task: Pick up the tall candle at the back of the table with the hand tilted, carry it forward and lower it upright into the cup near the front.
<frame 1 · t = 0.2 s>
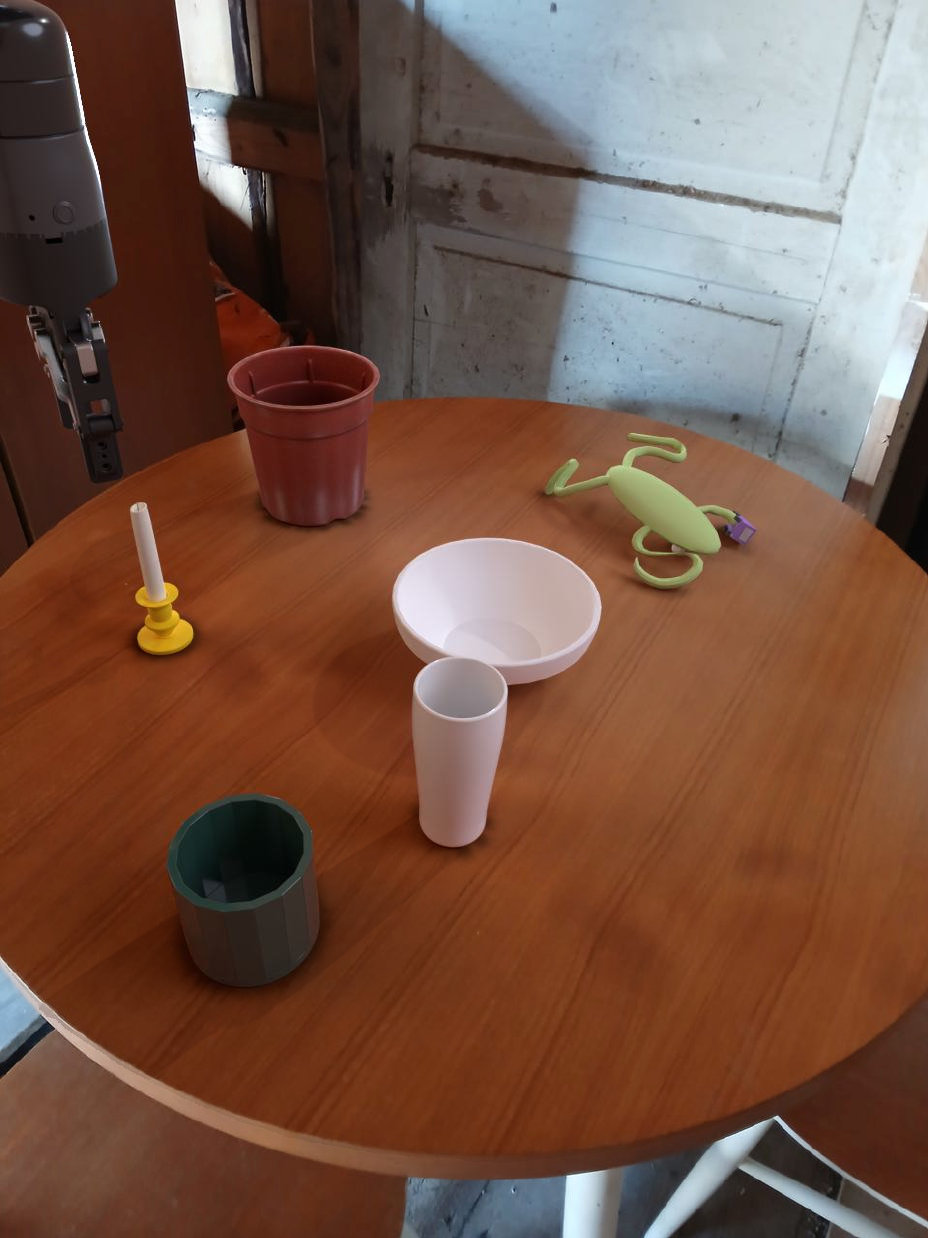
hand: (92, 451, 64), 26 cm above the table, tool pointing down, fingers open, 8 cm apart
flower pot: (313, 501, 109), on the table
candle: (166, 639, 88), on the table
drinking glass: (452, 825, 72), on the table
bowl: (491, 654, 89), on the table
figurine: (646, 520, 109), on the table
cup: (254, 926, 64), on the table
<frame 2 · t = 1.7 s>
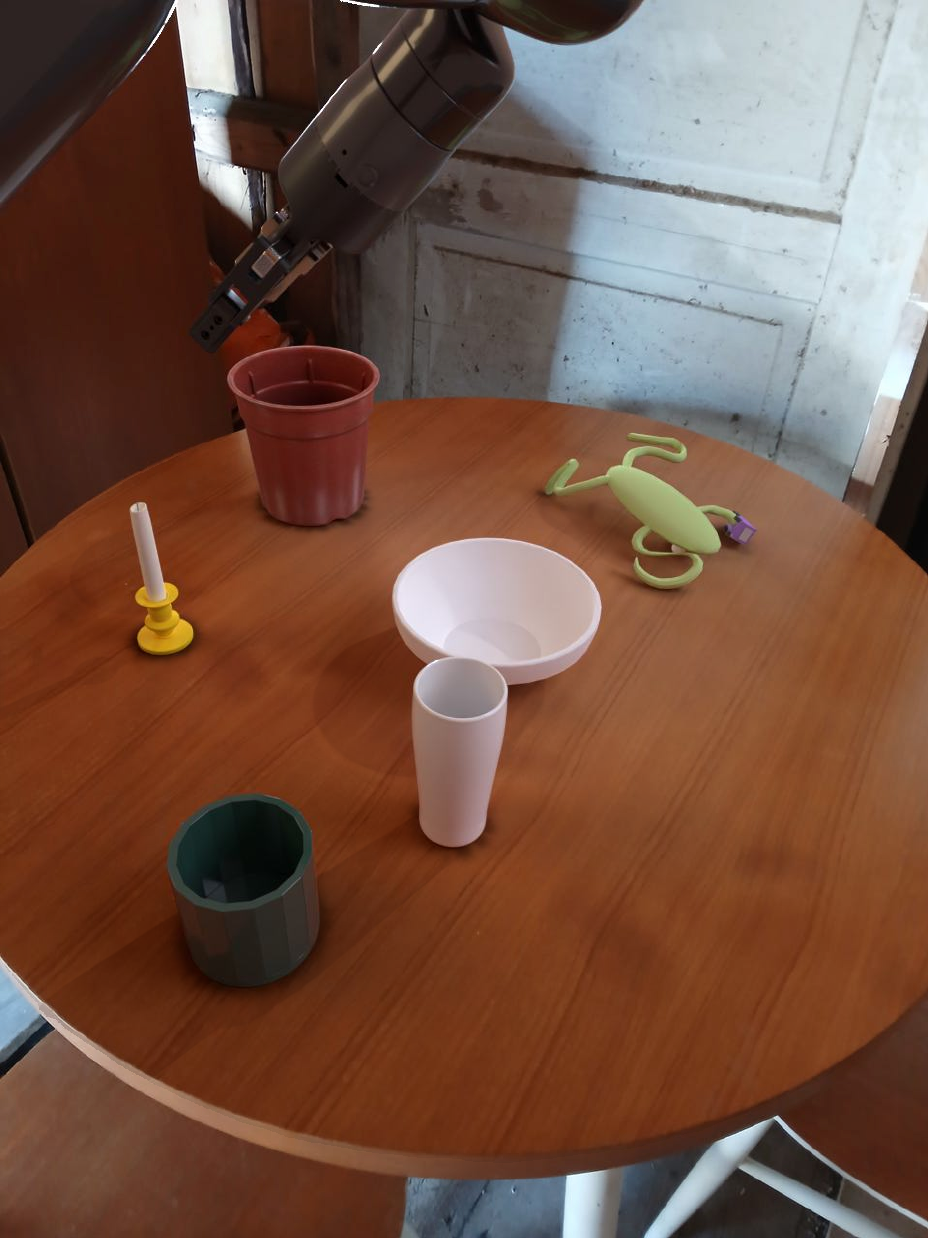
hand: (226, 320, 66), 33 cm above the table, tool tilted 45°, fingers open, 8 cm apart
nothing on the table moved.
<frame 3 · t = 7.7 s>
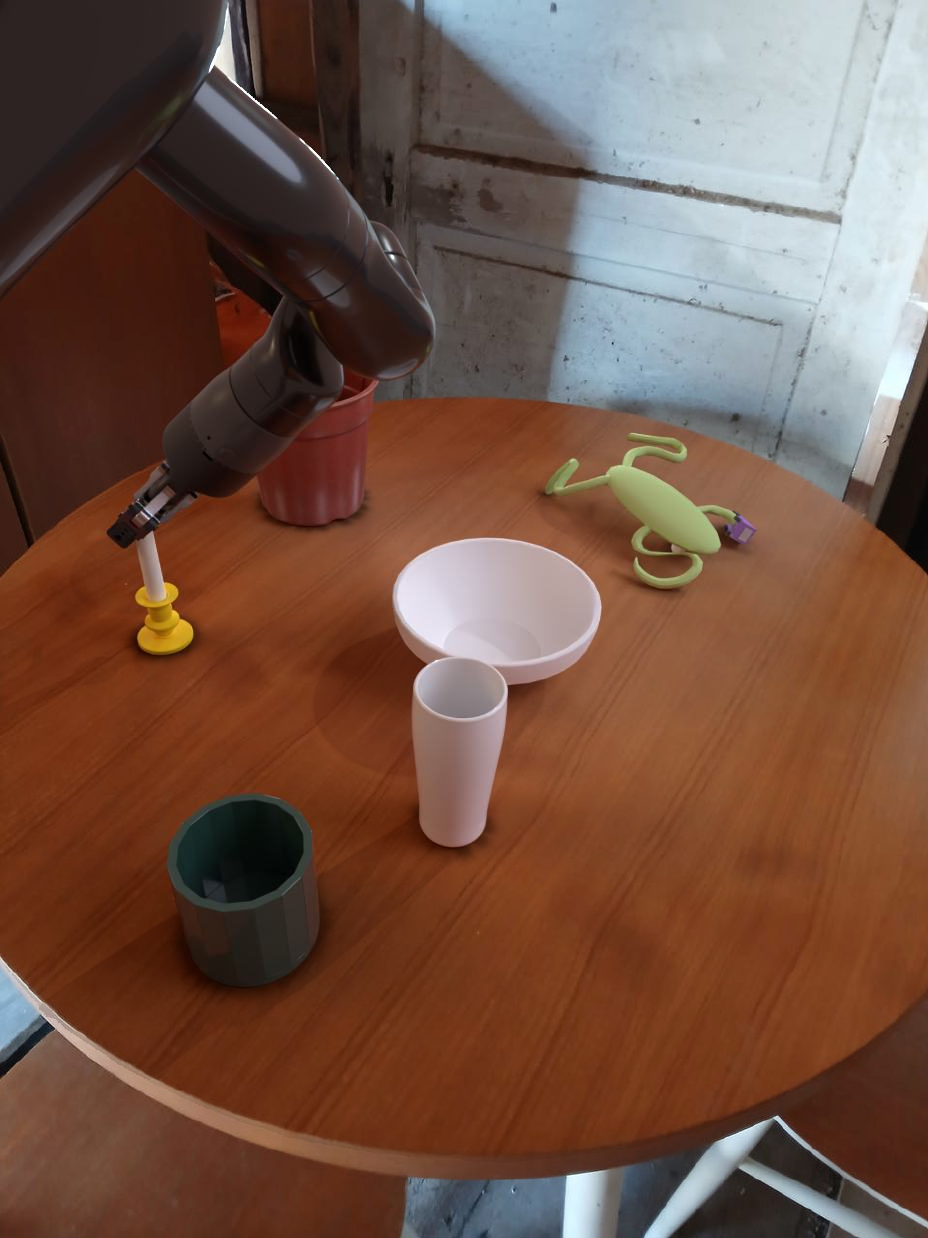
hand: (123, 532, 81), 12 cm above the table, tool tilted 45°, fingers closed on candle
candle: (166, 639, 88), on the table, touching gripper
everything else where it was.
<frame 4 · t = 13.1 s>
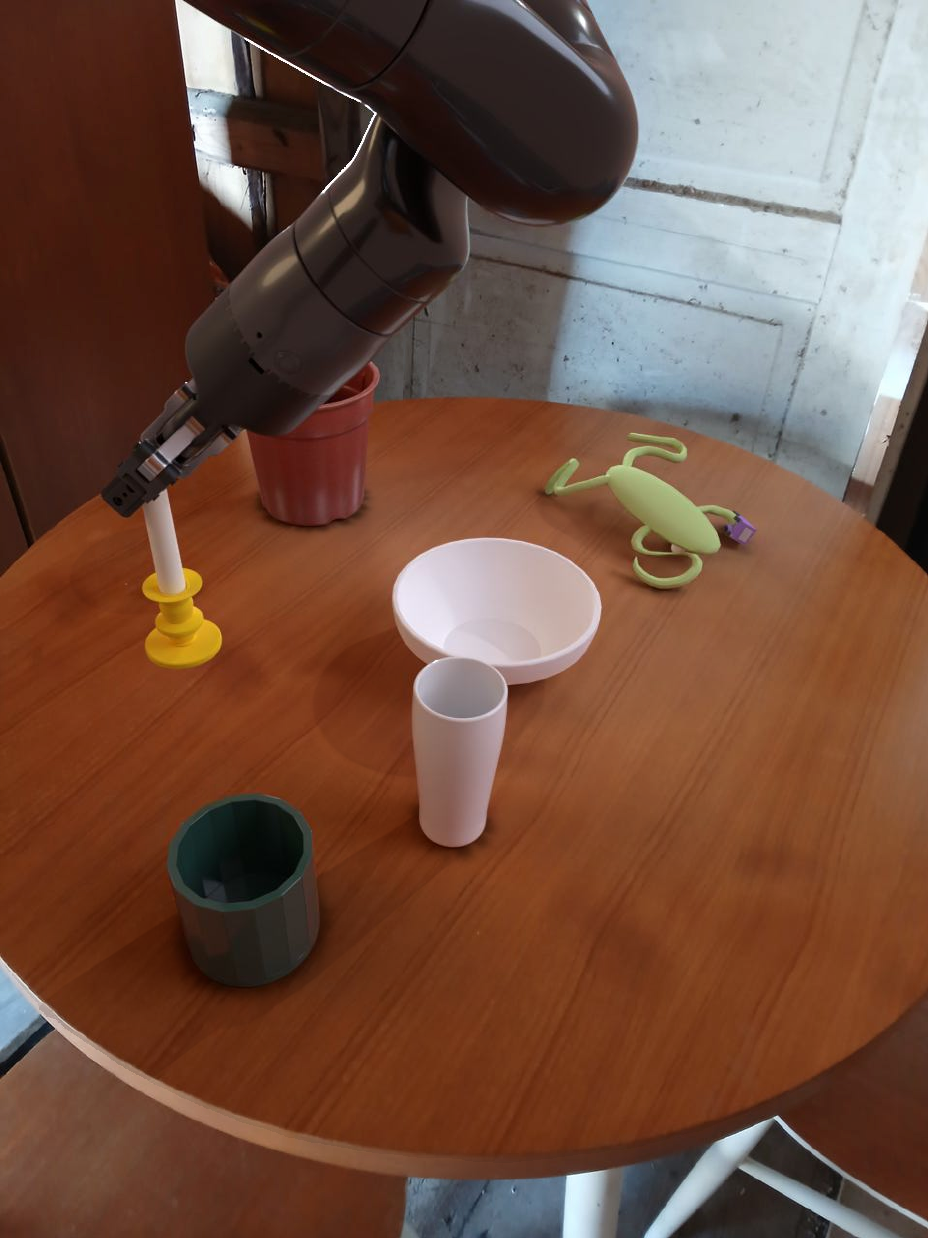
hand: (124, 495, 57), 28 cm above the table, tool tilted 45°, fingers closed on candle
candle: (184, 647, 64), point 16 cm above the table, touching gripper
everything else where it was.
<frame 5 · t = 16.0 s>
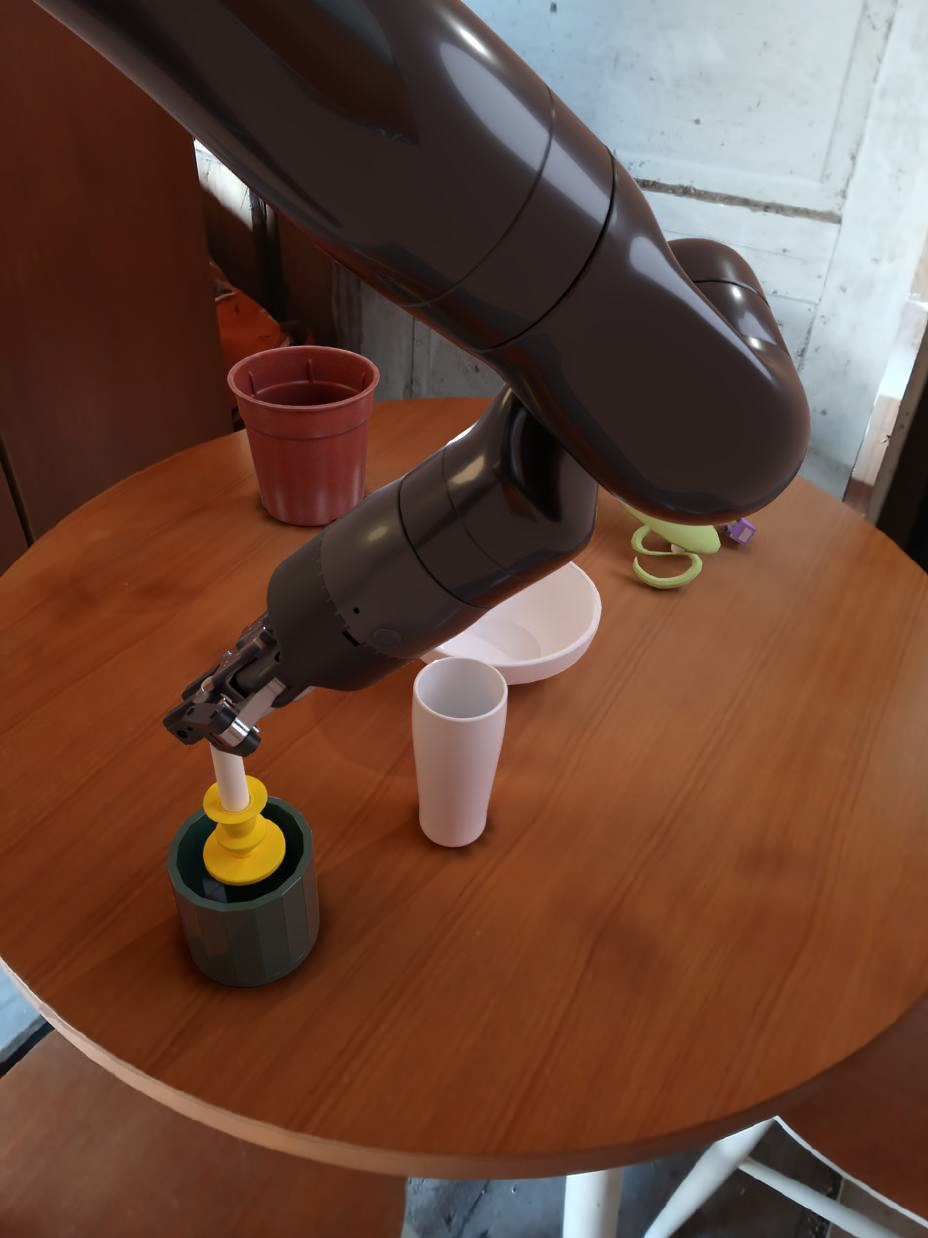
hand: (187, 717, 52), 21 cm above the table, tool tilted 45°, fingers closed on candle
candle: (245, 854, 59), point 8 cm above the table, touching gripper
everything else where it was.
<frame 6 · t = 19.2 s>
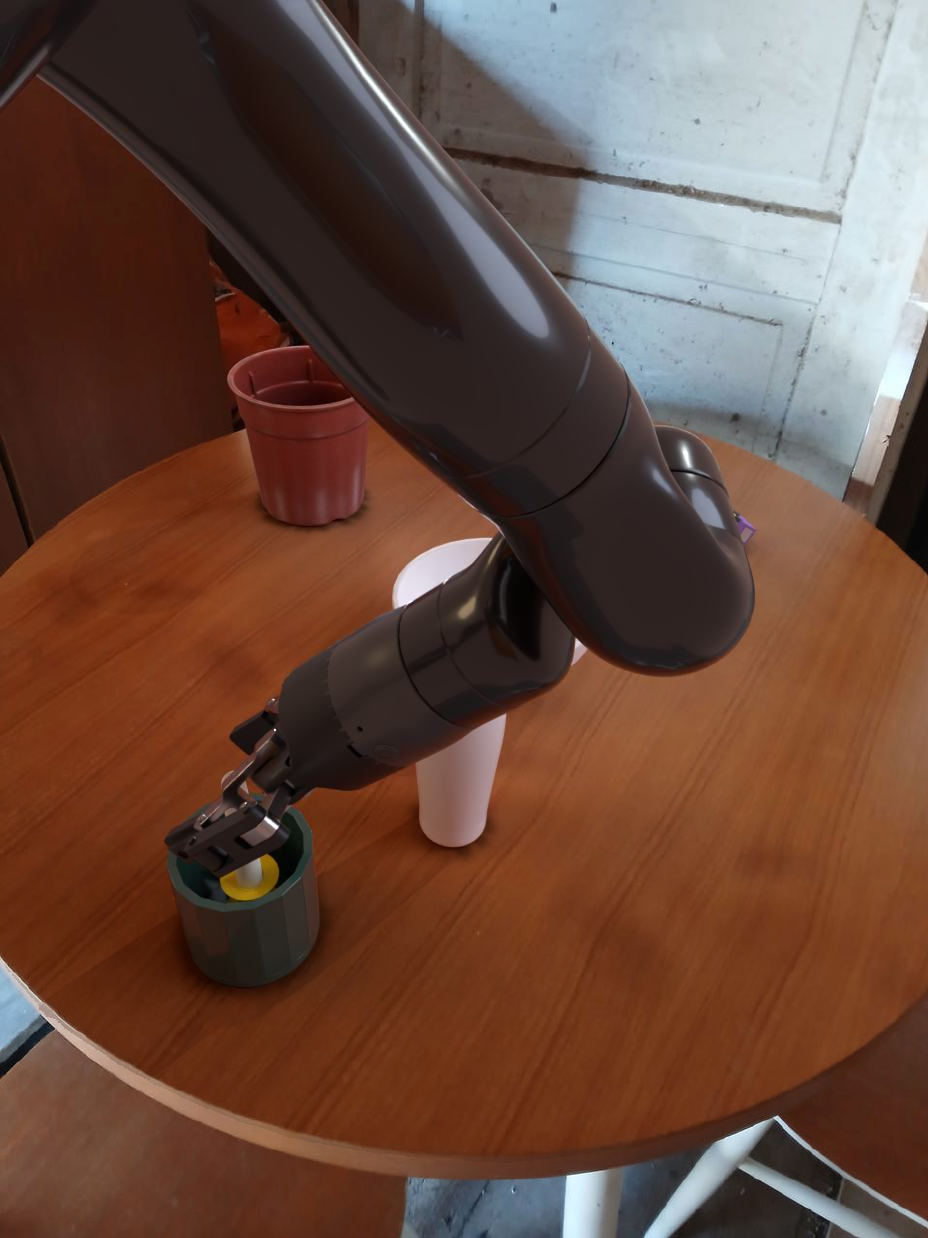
hand: (211, 793, 56), 14 cm above the table, tool tilted 45°, fingers open, 8 cm apart
candle: (257, 922, 64), point 1 cm above the table, touching cup
everything else where it was.
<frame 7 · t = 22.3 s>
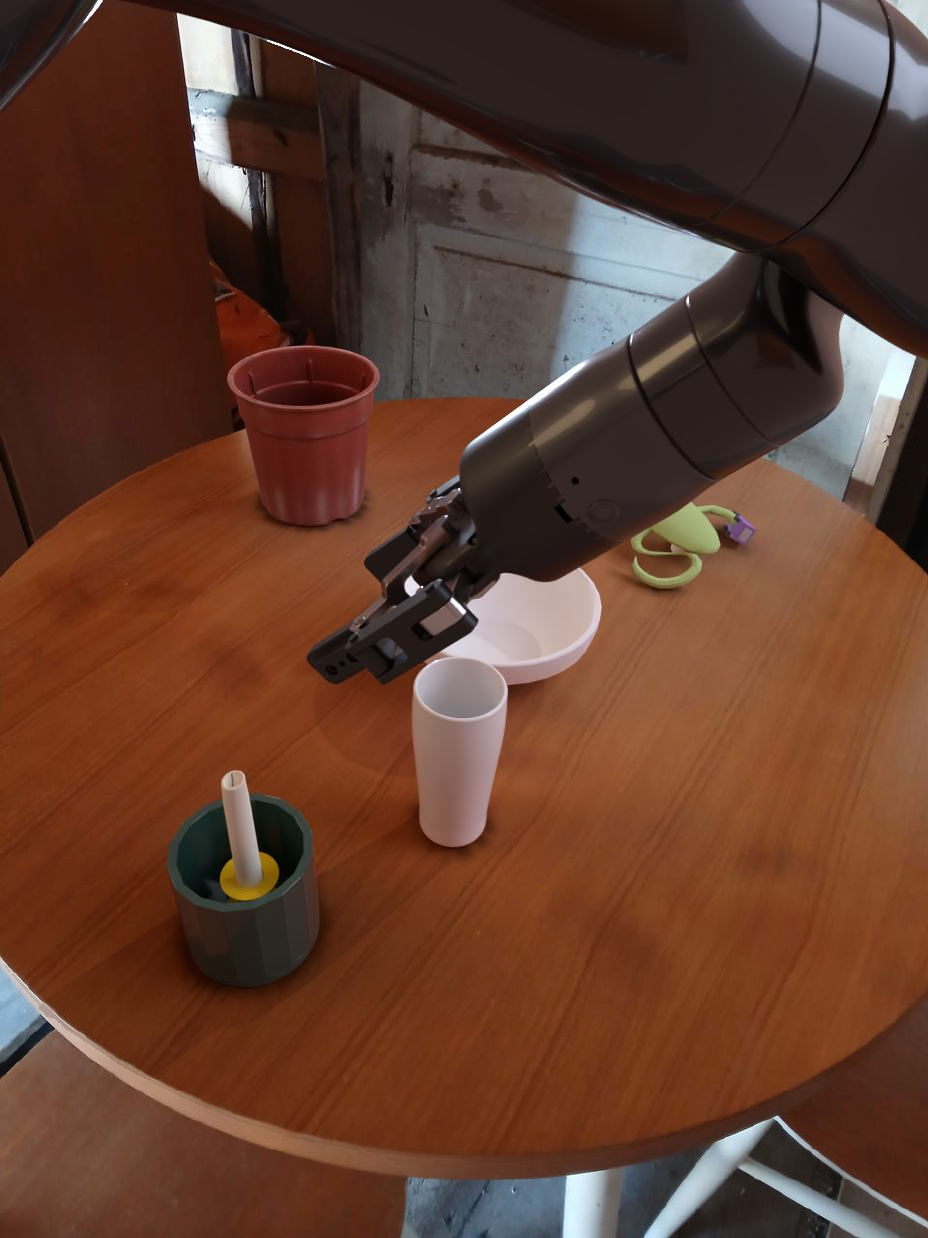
hand: (349, 617, 48), 28 cm above the table, tool tilted 45°, fingers open, 8 cm apart
nothing on the table moved.
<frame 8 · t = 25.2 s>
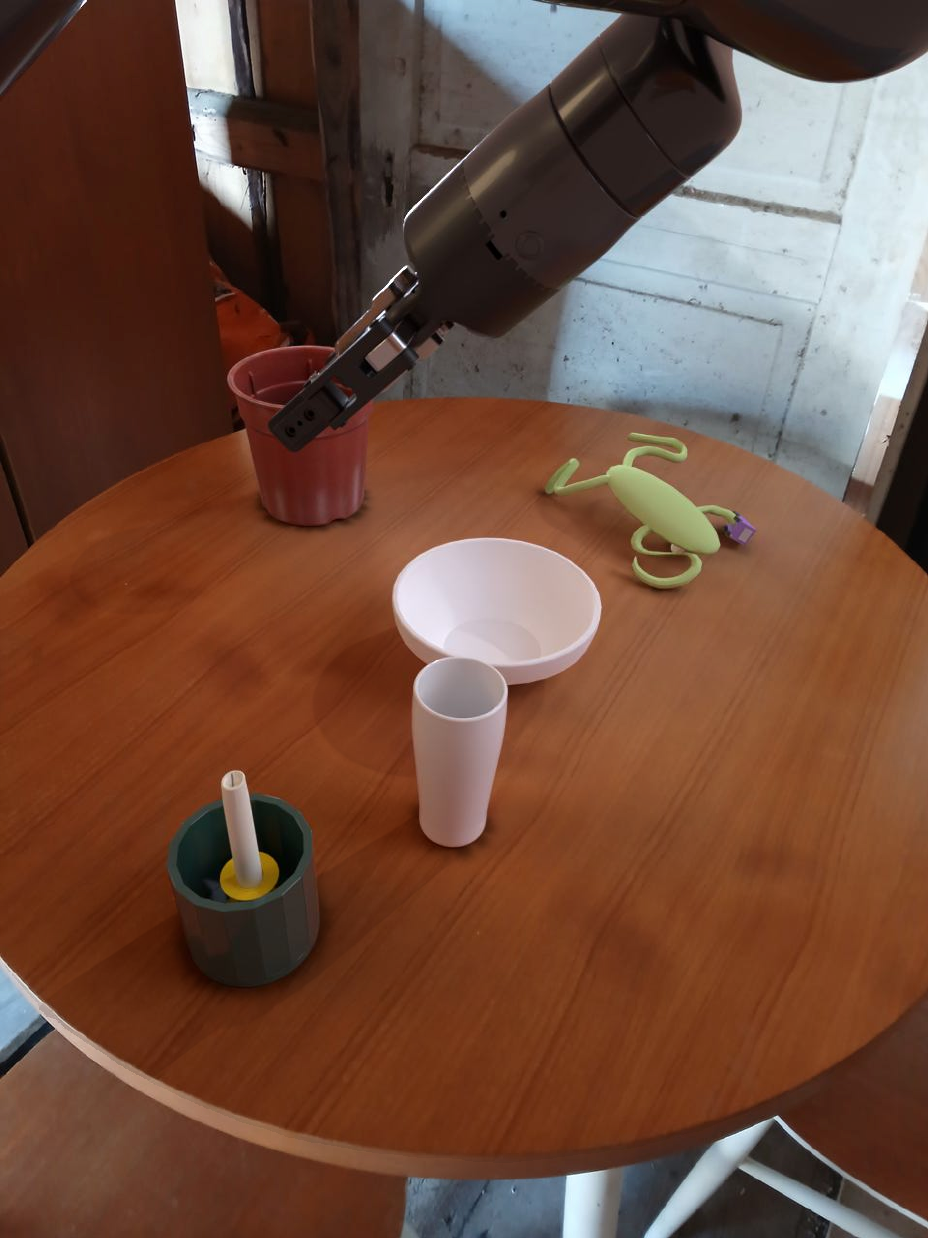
hand: (310, 404, 52), 35 cm above the table, tool tilted 45°, fingers open, 8 cm apart
nothing on the table moved.
at the end: candle 0.3 cm off-centre in the cup, point 0.6 cm above the cup's base; candle tilted 0°; the gripper is holding nothing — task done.
